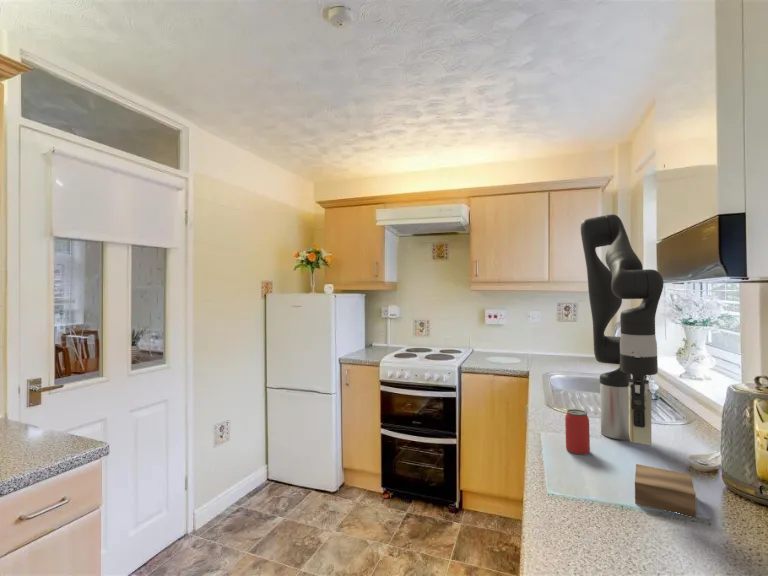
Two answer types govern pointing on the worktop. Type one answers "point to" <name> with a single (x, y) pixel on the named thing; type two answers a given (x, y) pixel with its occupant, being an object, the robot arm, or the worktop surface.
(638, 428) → the skincare box
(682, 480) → the walnut block
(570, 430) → the beer can
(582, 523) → the worktop surface
